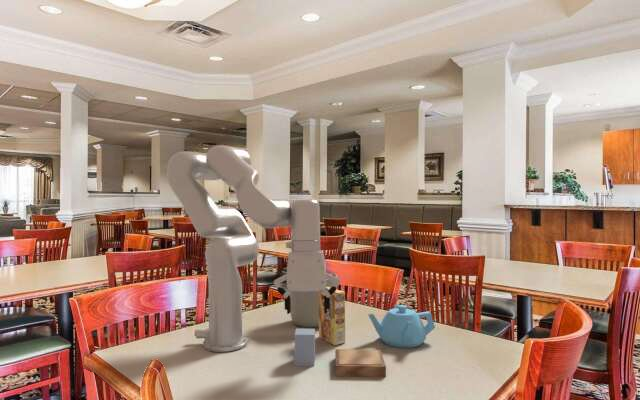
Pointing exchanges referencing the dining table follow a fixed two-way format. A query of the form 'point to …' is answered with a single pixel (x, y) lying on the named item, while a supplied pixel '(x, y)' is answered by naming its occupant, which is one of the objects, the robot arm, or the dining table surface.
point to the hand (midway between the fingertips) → (307, 312)
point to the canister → (307, 306)
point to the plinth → (360, 363)
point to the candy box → (332, 318)
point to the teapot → (403, 327)
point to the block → (304, 347)
